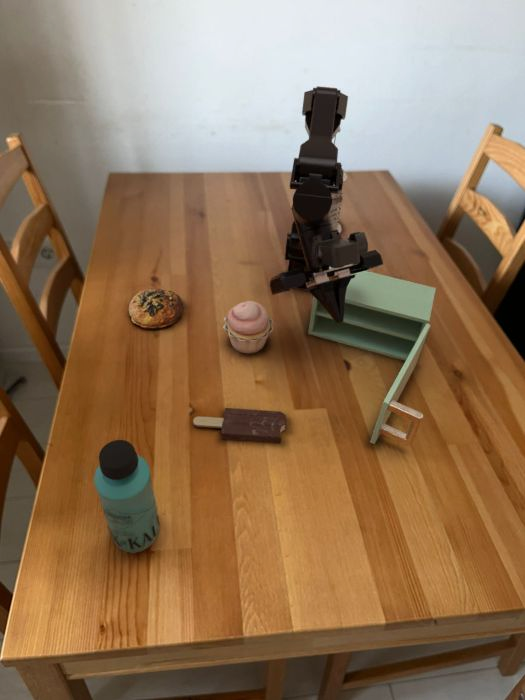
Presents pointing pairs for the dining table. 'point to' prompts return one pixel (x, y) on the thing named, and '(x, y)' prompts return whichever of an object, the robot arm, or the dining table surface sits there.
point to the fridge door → (400, 409)
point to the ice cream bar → (247, 424)
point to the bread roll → (155, 308)
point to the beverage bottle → (127, 496)
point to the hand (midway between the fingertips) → (339, 322)
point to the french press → (336, 205)
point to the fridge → (377, 315)
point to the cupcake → (248, 327)
